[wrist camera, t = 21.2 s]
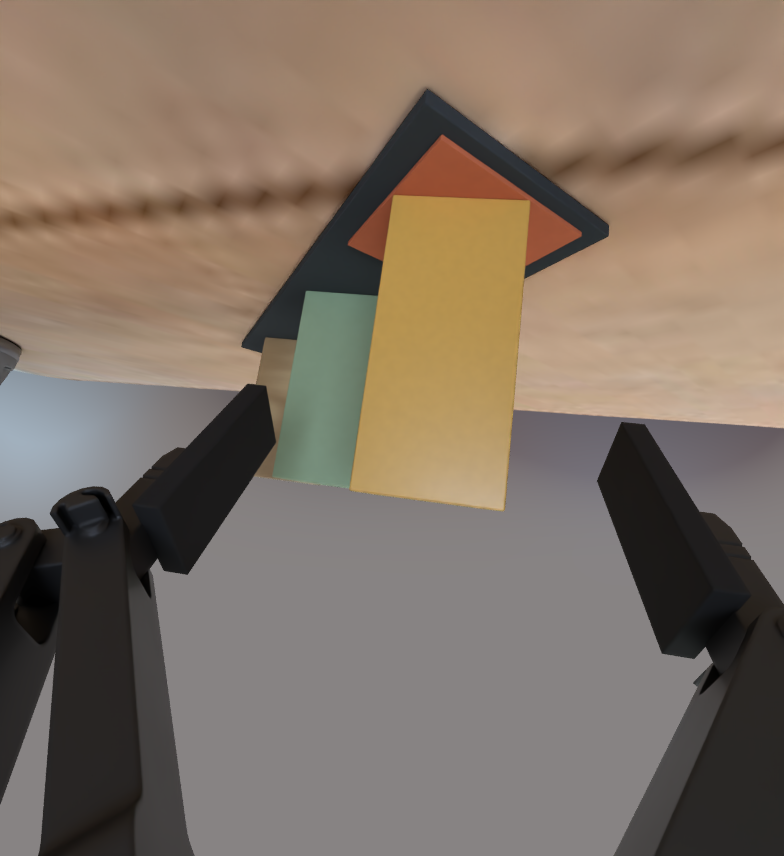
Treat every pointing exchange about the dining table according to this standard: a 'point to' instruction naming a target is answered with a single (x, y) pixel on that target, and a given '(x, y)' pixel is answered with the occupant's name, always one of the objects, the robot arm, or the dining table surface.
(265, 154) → the dining table surface
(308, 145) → the dining table surface
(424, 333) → the tall mustard brick
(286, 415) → the sage I block
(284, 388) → the tan tall block
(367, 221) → the word mat
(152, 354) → the dining table surface
